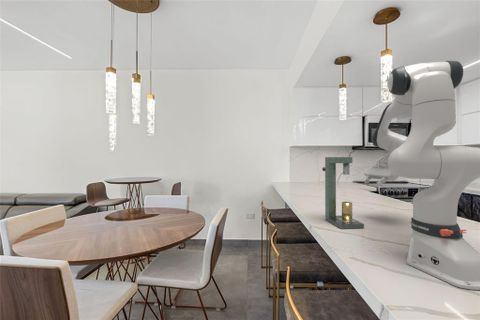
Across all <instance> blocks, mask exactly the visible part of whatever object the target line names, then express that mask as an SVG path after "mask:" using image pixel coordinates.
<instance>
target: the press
mask: <svg viewBox="0 0 480 320" xmlns="http://www.w3.org/2000/svg"><path fill="white" fill-rule="evenodd" d="M324 159H325V161H324V166H323V167H322V169H321V170H322V171H323V172H324V176H325V177H324V183H325V184H324V185H325V187H324V190H325V193H324V194H325V196H324V199H325V200H324V203H325V204H324V209H325V210H324V211H325V212H324V213H325V214H324V215H325V216H324V217H325V220H326V221H327V222H329V224H330V223H331V224H332V225H334V227H337V228H338V229H340V230H347V229H364V228H365V224H364V223H363V222H361V221H359V220H357V219H355V218H352V221H345V220H342V215H337V181H336V180H337V179H336V178H337V169H336V168H337V166H336V165H337V164H342V174H343V175H345V176H346V175H347V176H348V175H351V174H350V169H351V168H350V164H353V157H352V156H342V157H341V156H326V157H324Z"/></svg>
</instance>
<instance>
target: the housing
mask: <svg viewBox="0 0 480 320" xmlns="http://www.w3.org/2000/svg"><path fill="white" fill-rule="evenodd" d="M341 216H342V220H345V221H352V219H353V202H351V201H341Z"/></svg>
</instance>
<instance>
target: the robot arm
mask: <svg viewBox="0 0 480 320" xmlns="http://www.w3.org/2000/svg"><path fill="white" fill-rule="evenodd" d="M463 77H464V66H463V65H462V63H461V62H460V61H457V60H446V61H433V62H432V61H431V62H420V63H415V64H410V65H406V66H404V65H403V66H399V67H396V68H393V69H392V71H390V73H389V76H388V78H387V89H388V92H389V93H390V94H391V95H394V99H393V102H391V103H388V104H387V105H386V106H385V108H384V109H383V112H382V114H381V116H380V118H379V121H378V123H377V126H376V129H375V130H374V132H373V134H372V137H371V138H370V139H371V142H372V145H373V146H374V147H377V148H380V149H383V150H385V151H388V153H387V154H385V155H384V156H383V157H382V158H381V159H380V160H379V162H378V163H377V164H373V165H371V166H370V167H369V168H367V170H365V171H364V173H363V174H364V176H365V177H366V178H365V179H364V181H363V182H364V183H365V184H369V183H370V180H372V179H374V180H377V181H376V182H375V185H377V186H382V185H383V184H384V183H386V182H388V181H392V182H394V181H396V180H398V178H399V177H401V178H406V179H416V180H419V179H420V180H422V179H423V180H424V179H425V180H433V183H432V184H431V186H429V187H428V188H425V189H422V190H420V191H418V192H417V193H416V194H415V195H414V196H413V198H412V217H411V221H410V224H411V225H410V227H411V229H412V232H411V236H410V239H409V247H408V252H407V255H406V261H405V263H406V264H407V265H409V266H411V267H413V268H416V269H417V270H419V271H422V272H424V273H425V274H428V275H430V276H432V277H435V278H437V279H440V280H441V281H444V282H446V283H447V284H450V285H453V286H454V287H457V288H460V289H465V290H476V291H477V290H478V291H480V252H478V251H477V250H476V249H475V248H474V246H472V245H471V244H470V243H469V241H467V240H466V239H465V238H464V234H467V232H466V231H467V229H466V228H464V229H461V227H460V225H459V224H458V221H457V220H458V205H459V200H460V198H461V195H462V194H463V192H464V190H465V189H467V187H468V186H469V185H470V184H472V182H474V181H476V180H477V179H479V178H480V148H479V147H474V146H466V145H434V141H435V139H436V138H437V137H440V136H442V135H445V134H447V133H448V132H450V131H451V130H452V129H454V127H455V126H456V123H457V114H456V110H457V109H456V94H455V89H456V88H458V86H459V85H460V84H461V83H462V80H463ZM408 118H411V127H410V131H409V134H408V136H406V135H403V134H400V133H396V132H394V131H391V130H390V129H389V127H390V124H391V122H392V119H408Z"/></svg>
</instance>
